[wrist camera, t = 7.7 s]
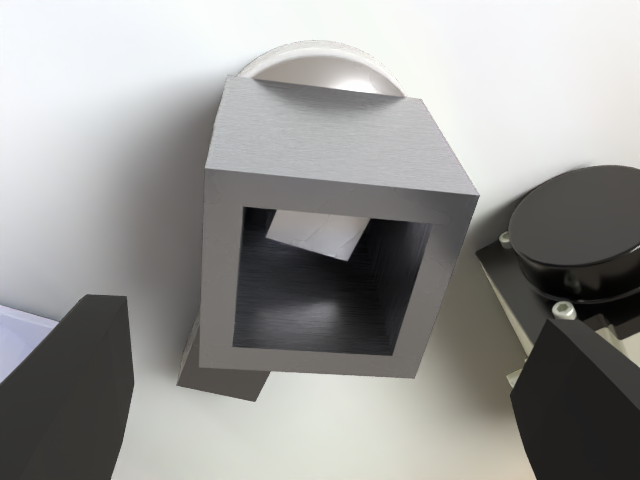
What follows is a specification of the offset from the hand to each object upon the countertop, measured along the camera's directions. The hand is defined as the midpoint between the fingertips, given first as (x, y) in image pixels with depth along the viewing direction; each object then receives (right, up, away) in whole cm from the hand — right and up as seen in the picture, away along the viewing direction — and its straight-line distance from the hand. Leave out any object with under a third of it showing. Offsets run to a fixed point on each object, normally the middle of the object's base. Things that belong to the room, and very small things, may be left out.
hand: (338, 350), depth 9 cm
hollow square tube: (0, +4, +6) cm, 7 cm away
